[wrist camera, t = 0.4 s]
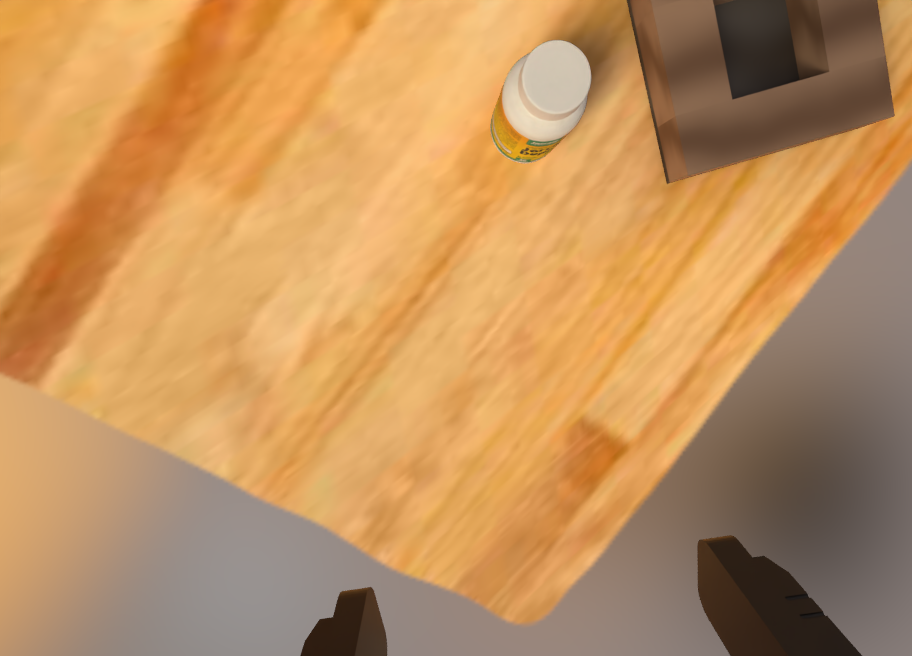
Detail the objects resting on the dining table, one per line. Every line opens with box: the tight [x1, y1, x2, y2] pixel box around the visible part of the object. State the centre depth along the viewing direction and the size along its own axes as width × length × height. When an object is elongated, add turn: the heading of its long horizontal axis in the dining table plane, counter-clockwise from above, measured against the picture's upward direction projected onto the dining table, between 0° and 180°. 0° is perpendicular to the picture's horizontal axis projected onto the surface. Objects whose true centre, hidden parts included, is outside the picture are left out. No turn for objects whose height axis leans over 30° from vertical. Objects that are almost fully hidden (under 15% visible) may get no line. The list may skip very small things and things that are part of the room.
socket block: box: [627, 0, 894, 184], centre depth 34 cm, size 16×16×3 cm
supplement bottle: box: [490, 40, 591, 163], centre depth 31 cm, size 5×5×10 cm
